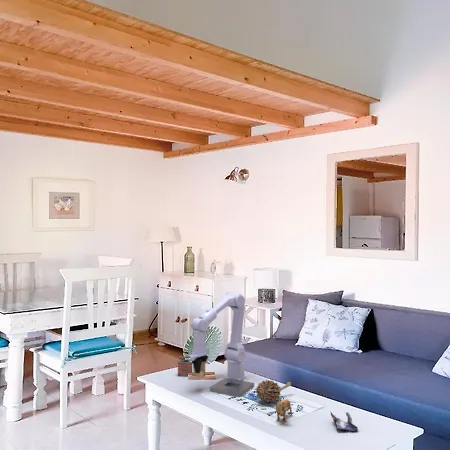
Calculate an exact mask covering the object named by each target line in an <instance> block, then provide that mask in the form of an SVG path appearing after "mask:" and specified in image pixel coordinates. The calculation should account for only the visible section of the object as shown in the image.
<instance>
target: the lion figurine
mask: <svg viewBox="0 0 450 450" xmlns="http://www.w3.org/2000/svg"><path fill="white" fill-rule="evenodd" d="M288 411H289V413H288V414H289V415H290V414H291V415H292V414H293V413H292V412H293V410H292V404H291V401H290V400H289V399H283V400H279V401H278V402H277V403H276V407H275V412H276V418H277V419H276V422H280V420H281V418H280V416H282V422H283V421H284V422H287V420H286V416H287V415H286V413H287V412H288ZM284 422H283V423H284Z"/></svg>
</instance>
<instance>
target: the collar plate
mask: <svg viewBox="0 0 450 450" xmlns="http://www.w3.org/2000/svg"><path fill="white" fill-rule="evenodd" d="M253 387H254V388H255V382H253V381H246V380H236V379H230V378H226V377H224V378H222V379H221V380H219V381H218V382H215V384H213V385H211V386H209V392H211V393H216V394H222V395H226V396H227V395H228V396H232V397H237V398H241V397H242V396H244V395H245V394H246V392H247V393H248V392H250V391H251V390H252V389H254V388H253ZM250 389H251V390H250Z"/></svg>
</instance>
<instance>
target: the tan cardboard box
mask: <svg viewBox="0 0 450 450" xmlns="http://www.w3.org/2000/svg"><path fill="white" fill-rule="evenodd" d="M192 374H193V376H192V377H195V378H199V379H200V378H201V379H202V378H205V377H206V363H205V361H202V363H201V368H200V373H195V369H194V366H193V365H192Z"/></svg>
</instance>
